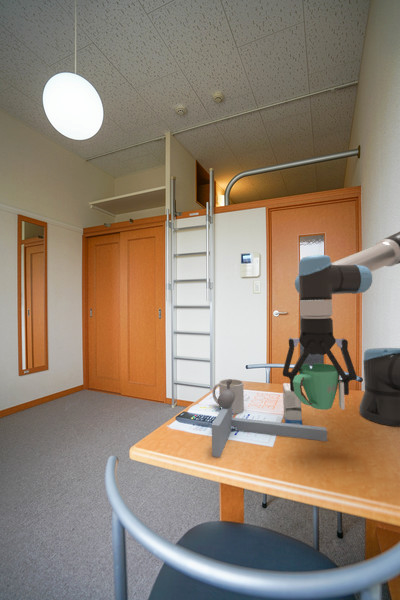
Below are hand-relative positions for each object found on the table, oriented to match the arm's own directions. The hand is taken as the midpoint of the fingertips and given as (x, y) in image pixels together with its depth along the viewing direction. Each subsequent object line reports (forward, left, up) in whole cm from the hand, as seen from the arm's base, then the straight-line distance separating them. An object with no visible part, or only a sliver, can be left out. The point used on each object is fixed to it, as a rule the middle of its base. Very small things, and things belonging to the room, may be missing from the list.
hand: (318, 405), depth 70 cm
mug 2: (+1, 0, -1) cm, 1 cm away
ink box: (+6, -19, -13) cm, 24 cm away
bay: (+12, -3, -13) cm, 18 cm away
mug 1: (+28, -26, -13) cm, 40 cm away
